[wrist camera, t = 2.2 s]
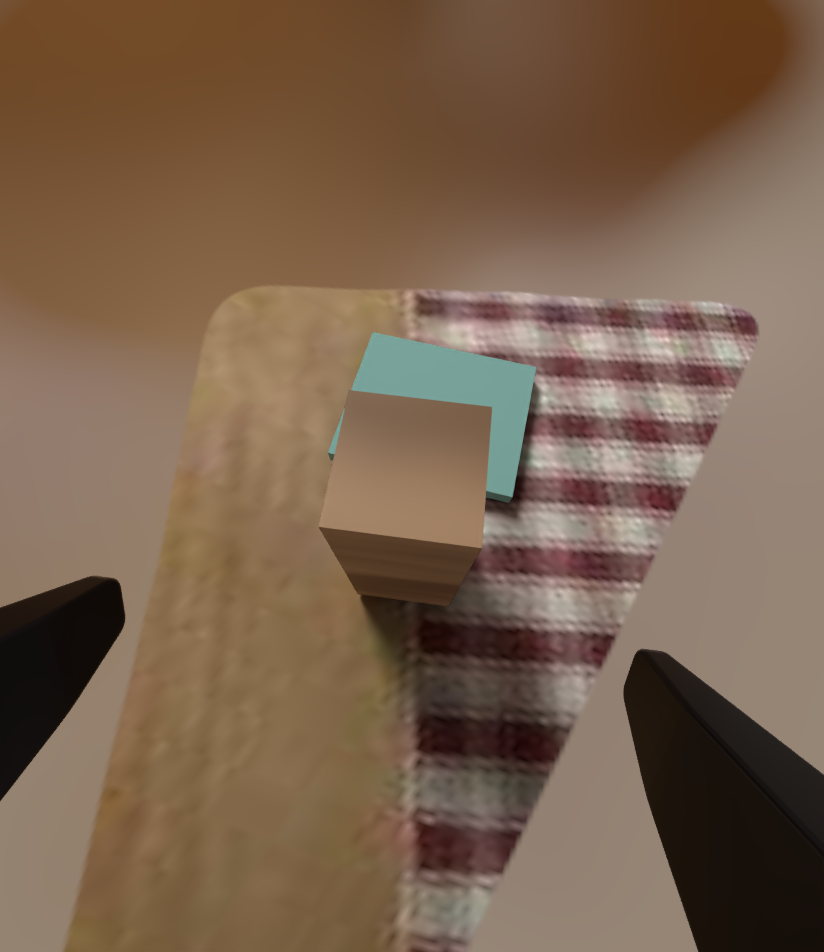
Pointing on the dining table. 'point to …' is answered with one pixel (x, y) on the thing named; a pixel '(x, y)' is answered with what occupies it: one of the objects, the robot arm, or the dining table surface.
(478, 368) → the mat
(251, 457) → the dining table surface
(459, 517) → the walnut block
